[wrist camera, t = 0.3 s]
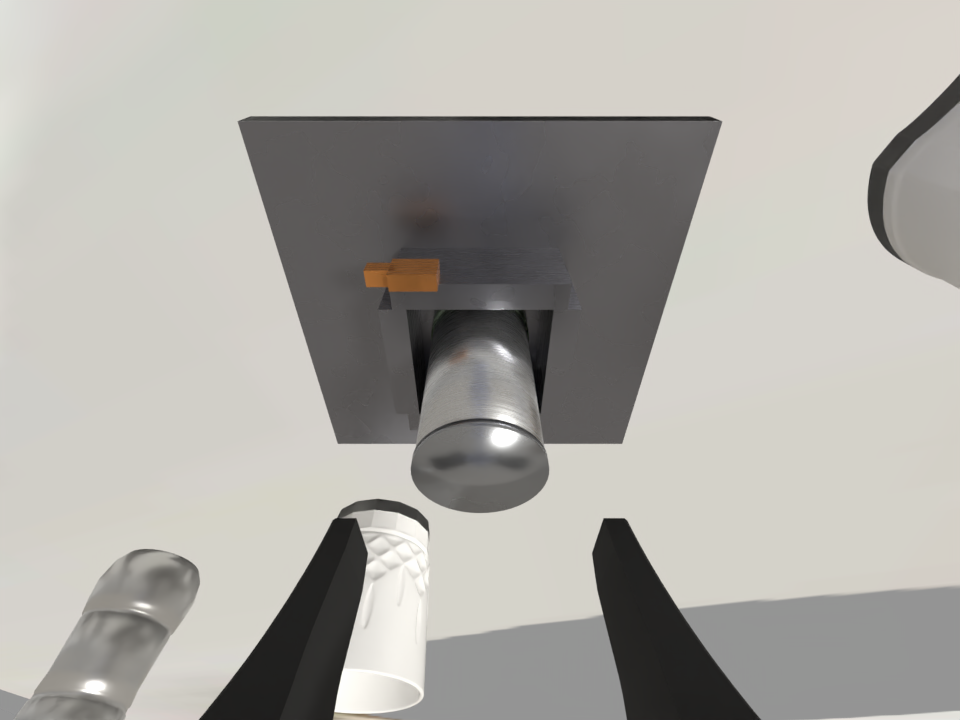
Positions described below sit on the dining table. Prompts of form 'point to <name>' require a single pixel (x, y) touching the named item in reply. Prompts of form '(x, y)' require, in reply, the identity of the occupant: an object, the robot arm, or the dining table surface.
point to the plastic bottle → (116, 638)
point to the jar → (922, 190)
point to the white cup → (388, 611)
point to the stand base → (479, 250)
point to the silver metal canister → (479, 414)
